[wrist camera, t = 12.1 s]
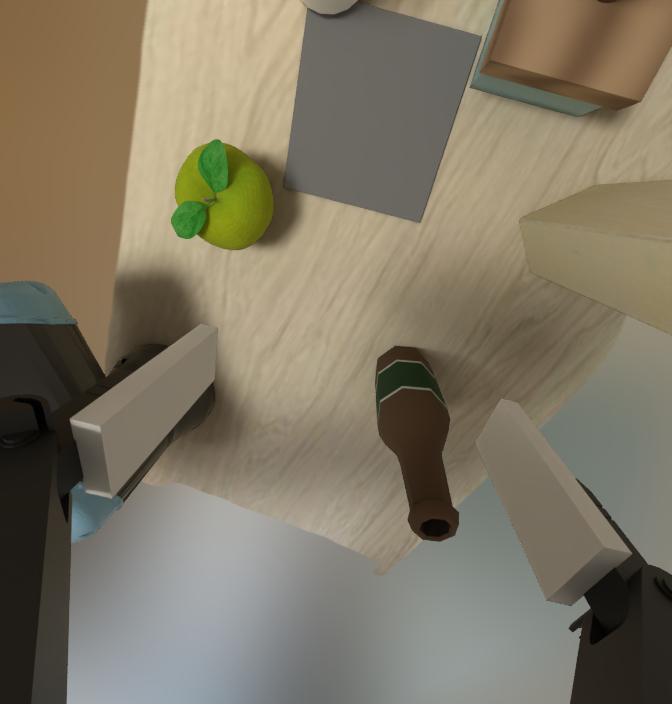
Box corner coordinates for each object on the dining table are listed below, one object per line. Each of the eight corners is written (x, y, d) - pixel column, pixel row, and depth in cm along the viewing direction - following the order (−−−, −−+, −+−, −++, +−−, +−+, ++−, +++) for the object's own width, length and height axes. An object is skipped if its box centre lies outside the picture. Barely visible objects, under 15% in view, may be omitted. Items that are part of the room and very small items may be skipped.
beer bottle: (422, 336, 41) (483, 483, 19) (434, 383, 44) (499, 555, 22) (366, 352, 43) (367, 502, 21) (382, 396, 46) (396, 567, 24)
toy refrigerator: (529, 279, 36) (702, 359, 18) (516, 219, 34) (703, 239, 15) (603, 250, 34) (889, 306, 16) (596, 184, 32) (930, 155, 13)
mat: (284, 187, 34) (283, 187, 34) (310, -9, 27) (309, -12, 27) (419, 222, 35) (419, 222, 35) (480, 37, 28) (481, 36, 27)
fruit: (192, 206, 36) (135, 207, 27) (232, 133, 33) (182, 107, 24) (255, 258, 38) (221, 275, 29) (299, 195, 35) (276, 193, 26)
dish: (469, 87, 29) (488, 66, 25) (527, -85, 24) (563, -150, 20) (577, 116, 29) (615, 101, 25) (656, -48, 25) (721, -104, 20)
